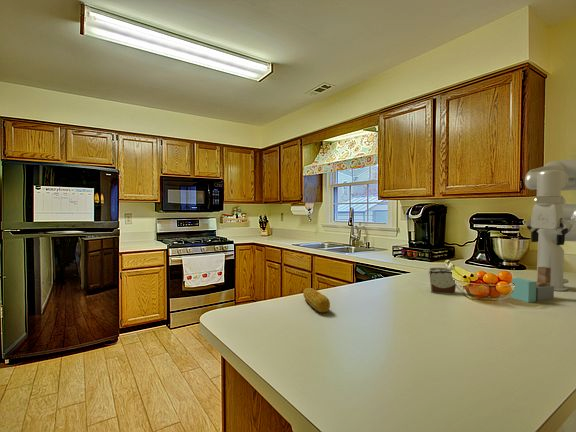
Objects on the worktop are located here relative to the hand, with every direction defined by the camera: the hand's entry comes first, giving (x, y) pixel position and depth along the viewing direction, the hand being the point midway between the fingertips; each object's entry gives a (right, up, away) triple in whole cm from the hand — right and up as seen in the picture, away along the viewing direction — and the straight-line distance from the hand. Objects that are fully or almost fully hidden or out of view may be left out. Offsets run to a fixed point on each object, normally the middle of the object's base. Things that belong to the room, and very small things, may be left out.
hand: (547, 243), depth 130 cm
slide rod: (-2, -19, +1) cm, 19 cm away
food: (-95, -22, -13) cm, 99 cm away
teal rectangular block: (-11, -22, -1) cm, 25 cm away
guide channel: (-3, -22, +1) cm, 23 cm away
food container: (-39, -22, +10) cm, 45 cm away
